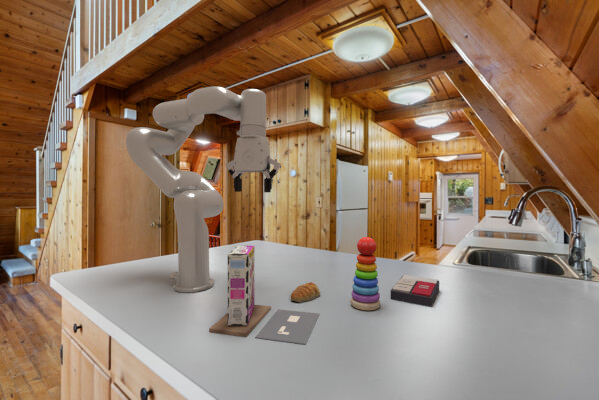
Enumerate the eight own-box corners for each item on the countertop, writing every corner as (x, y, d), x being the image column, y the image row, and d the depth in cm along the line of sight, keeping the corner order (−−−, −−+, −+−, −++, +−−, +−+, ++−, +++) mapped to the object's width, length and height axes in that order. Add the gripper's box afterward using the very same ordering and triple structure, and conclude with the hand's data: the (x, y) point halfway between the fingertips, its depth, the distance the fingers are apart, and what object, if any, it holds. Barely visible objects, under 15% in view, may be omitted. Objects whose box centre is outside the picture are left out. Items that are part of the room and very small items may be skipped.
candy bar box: (249, 326, 65) (248, 254, 65) (227, 327, 65) (226, 254, 65) (255, 306, 76) (255, 244, 76) (236, 307, 76) (235, 244, 76)
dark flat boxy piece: (389, 287, 83) (402, 272, 96) (390, 302, 84) (402, 285, 96) (431, 295, 77) (439, 278, 90) (431, 310, 78) (439, 291, 90)
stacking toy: (347, 309, 77) (347, 238, 76) (353, 298, 84) (353, 234, 83) (378, 313, 74) (378, 239, 73) (381, 302, 81) (382, 235, 81)
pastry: (303, 306, 79) (302, 292, 79) (284, 300, 83) (284, 287, 83) (322, 296, 87) (321, 283, 87) (304, 291, 91) (303, 279, 91)
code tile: (255, 338, 62) (255, 337, 62) (278, 310, 76) (278, 309, 76) (305, 344, 59) (305, 343, 59) (319, 314, 73) (319, 313, 73)
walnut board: (209, 331, 65) (209, 328, 64) (239, 306, 79) (239, 303, 79) (246, 336, 62) (246, 333, 62) (270, 309, 77) (270, 306, 77)
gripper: (220, 132, 85) (220, 191, 85) (275, 130, 79) (274, 192, 80) (234, 137, 92) (233, 191, 93) (285, 134, 86) (284, 192, 87)
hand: (252, 192), depth 86 cm, fingers open, 9 cm apart
